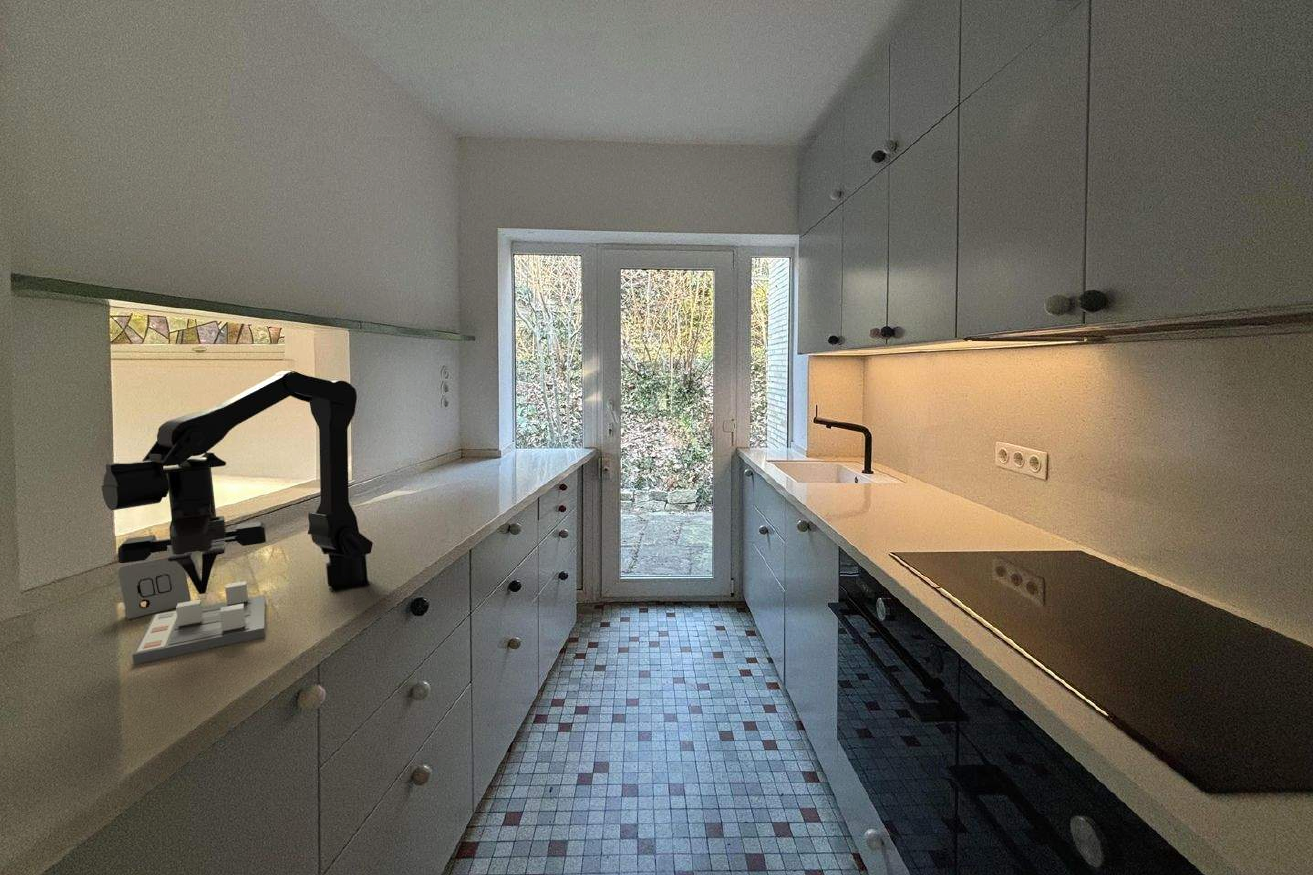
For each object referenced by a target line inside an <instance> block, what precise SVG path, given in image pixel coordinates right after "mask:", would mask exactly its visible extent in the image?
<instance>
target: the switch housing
mask: <svg viewBox="0 0 1313 875" xmlns="http://www.w3.org/2000/svg"><path fill="white" fill-rule="evenodd" d="M266 602H267V600H266V594H260V595H256V596H248V601H246V602H241V603H235V604H230V605H227V601H222V602H216V603H211V604H204V605H202V614H203V618H202V622H197V623H192V624H187V625H182V626H178V621H177V612H176V610H171V611H167V612H159V613H153V614H152V617H151V619H150V620H149V622H148V624H147V627H146V629H145V630H144V632H143V633H142V636H141V638H140V639H139V642H138V644H137V645H136V647H135V649H134V651H133V653H132V661H133V665H138V664H144V663H147V662H148V663H149V662H154V661H157V660H163V659H167V658H172V657H176V656H181V655H186V654H191V652H192V653H195V652H202V651H204V650H205V649H206V650H210V649H209V648H211V649H215V648H214V647H216V648H220V647H219V646H221V647H225V646H229V645H228V644H230V645H234V644H233V643H235V644H238V642H240V643H243V641H244V642H248V641H253V640H257V639H258V640H259V639H262V638H266V612H265V610H266V609H267V608H266V607H267V606H266V605H267V604H266ZM238 604H244V612H245V627H241V628H236V629H230V630H225V631H222V629H221V620H220V609H221V608H222V607H227V606H233V605H238ZM224 645H225V646H224Z"/></svg>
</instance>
